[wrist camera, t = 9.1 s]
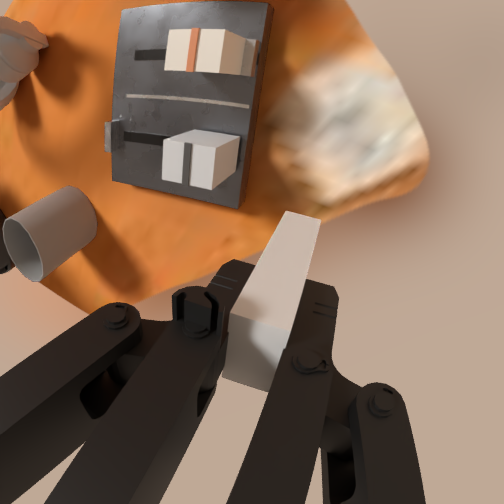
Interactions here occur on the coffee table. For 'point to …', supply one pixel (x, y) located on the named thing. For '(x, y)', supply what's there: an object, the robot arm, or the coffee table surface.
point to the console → (184, 93)
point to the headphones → (17, 55)
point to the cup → (49, 232)
